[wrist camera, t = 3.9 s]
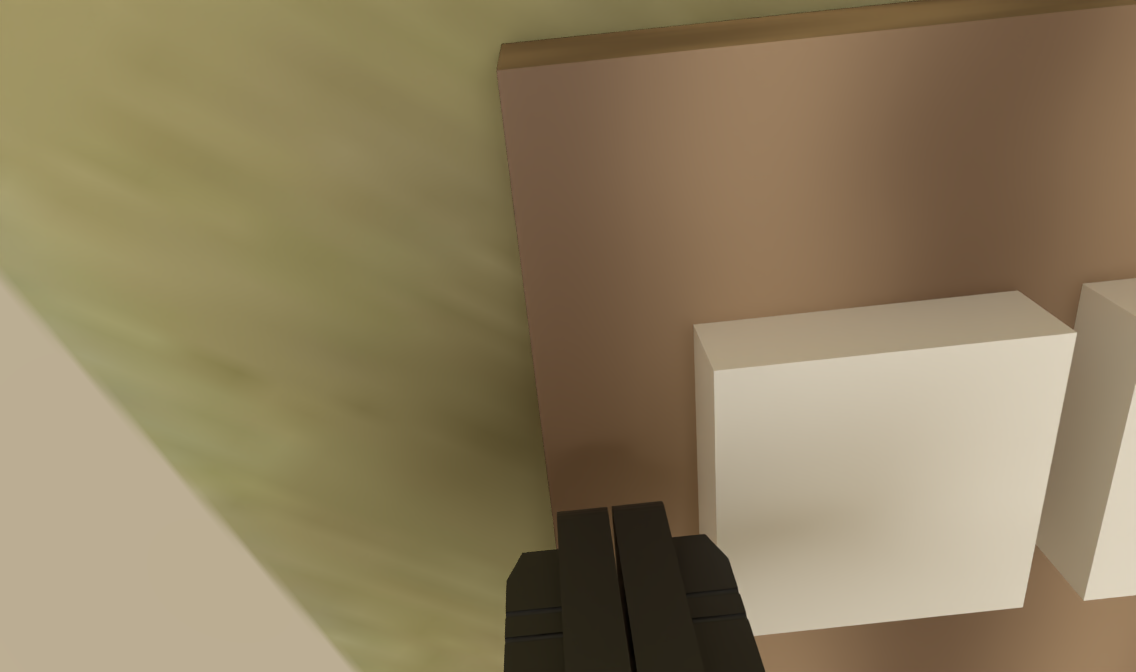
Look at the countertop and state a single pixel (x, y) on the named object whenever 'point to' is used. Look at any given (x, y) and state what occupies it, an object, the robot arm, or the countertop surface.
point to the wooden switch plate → (813, 239)
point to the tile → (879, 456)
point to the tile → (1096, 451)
